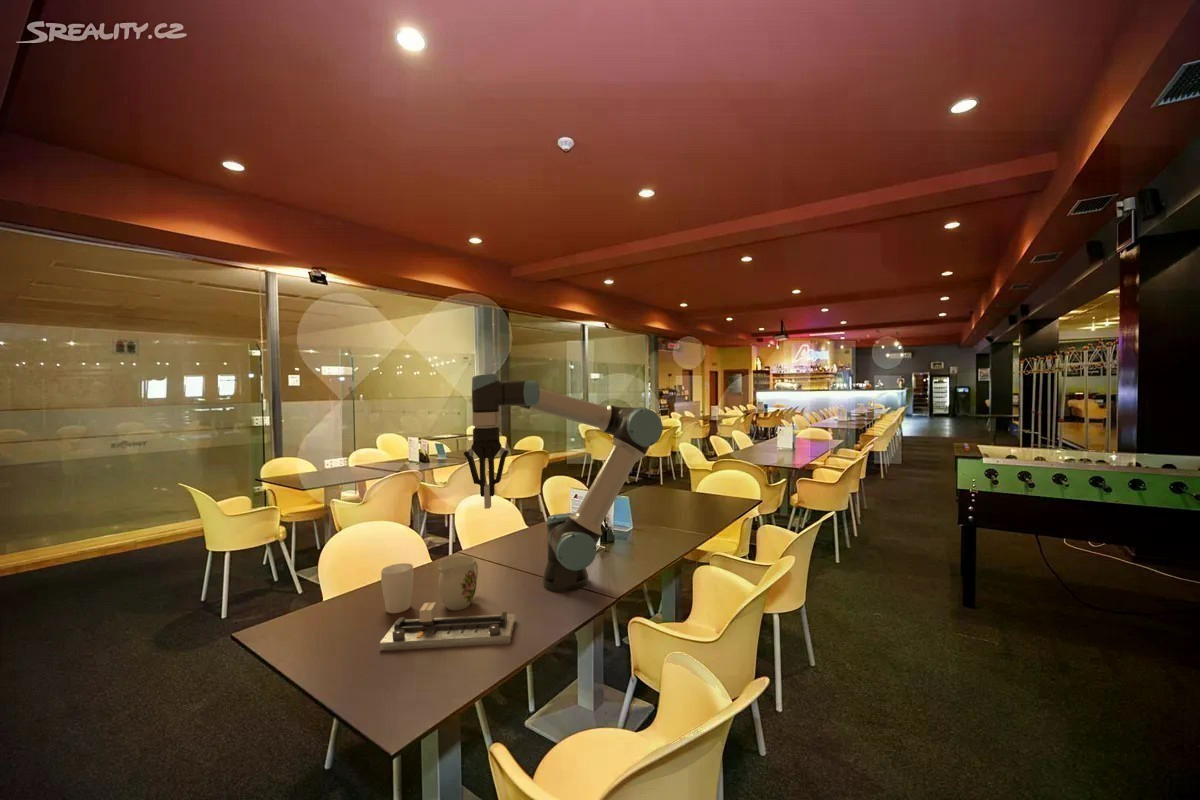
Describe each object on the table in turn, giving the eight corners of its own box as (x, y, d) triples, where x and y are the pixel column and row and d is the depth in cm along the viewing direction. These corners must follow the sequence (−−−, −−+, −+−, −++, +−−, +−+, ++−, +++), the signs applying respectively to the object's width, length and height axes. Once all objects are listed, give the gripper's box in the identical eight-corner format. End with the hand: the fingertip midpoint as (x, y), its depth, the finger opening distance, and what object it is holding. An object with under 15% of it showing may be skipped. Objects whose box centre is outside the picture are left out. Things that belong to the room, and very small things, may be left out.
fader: (436, 621, 126) (436, 601, 126) (431, 630, 122) (431, 609, 122) (425, 622, 126) (424, 602, 126) (419, 630, 122) (419, 609, 122)
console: (515, 620, 130) (514, 606, 130) (509, 643, 118) (509, 627, 118) (397, 627, 128) (397, 612, 128) (379, 650, 116) (379, 634, 116)
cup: (402, 616, 135) (401, 575, 135) (374, 614, 136) (373, 573, 136) (420, 603, 143) (419, 564, 143) (394, 601, 145) (393, 562, 145)
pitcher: (492, 594, 149) (491, 551, 149) (457, 619, 132) (455, 571, 132) (463, 590, 152) (462, 548, 152) (425, 614, 135) (424, 567, 135)
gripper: (510, 425, 141) (511, 503, 141) (466, 426, 140) (468, 505, 140) (506, 427, 133) (508, 509, 133) (460, 428, 132) (462, 511, 133)
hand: (487, 507), depth 137 cm, fingers closed
